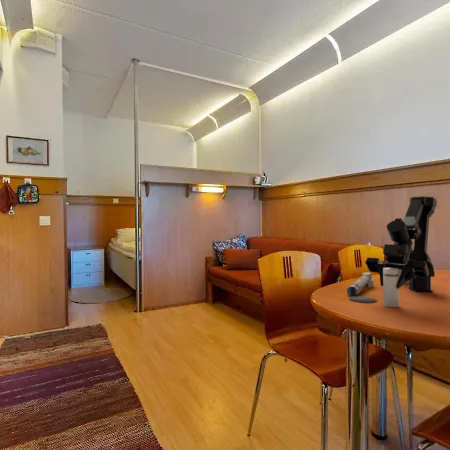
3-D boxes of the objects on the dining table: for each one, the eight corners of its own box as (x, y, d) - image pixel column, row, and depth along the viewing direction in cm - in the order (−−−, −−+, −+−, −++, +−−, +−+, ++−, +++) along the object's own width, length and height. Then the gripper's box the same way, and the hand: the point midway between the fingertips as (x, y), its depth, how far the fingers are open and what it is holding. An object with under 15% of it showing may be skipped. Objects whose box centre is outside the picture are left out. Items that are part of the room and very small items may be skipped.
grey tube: (344, 285, 119) (362, 268, 138) (345, 301, 120) (362, 283, 139) (358, 287, 116) (374, 269, 135) (359, 304, 117) (375, 284, 136)
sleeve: (394, 304, 105) (394, 267, 105) (401, 307, 101) (401, 269, 101) (380, 303, 106) (380, 267, 106) (386, 307, 101) (386, 269, 101)
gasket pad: (370, 297, 115) (370, 296, 115) (380, 303, 106) (380, 302, 106) (346, 296, 116) (345, 295, 116) (354, 302, 107) (354, 302, 107)
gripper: (367, 235, 113) (353, 268, 105) (426, 236, 99) (415, 274, 92) (376, 255, 118) (363, 288, 111) (433, 258, 104) (423, 296, 97)
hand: (389, 286), depth 102 cm, fingers closed on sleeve, 5 cm apart
